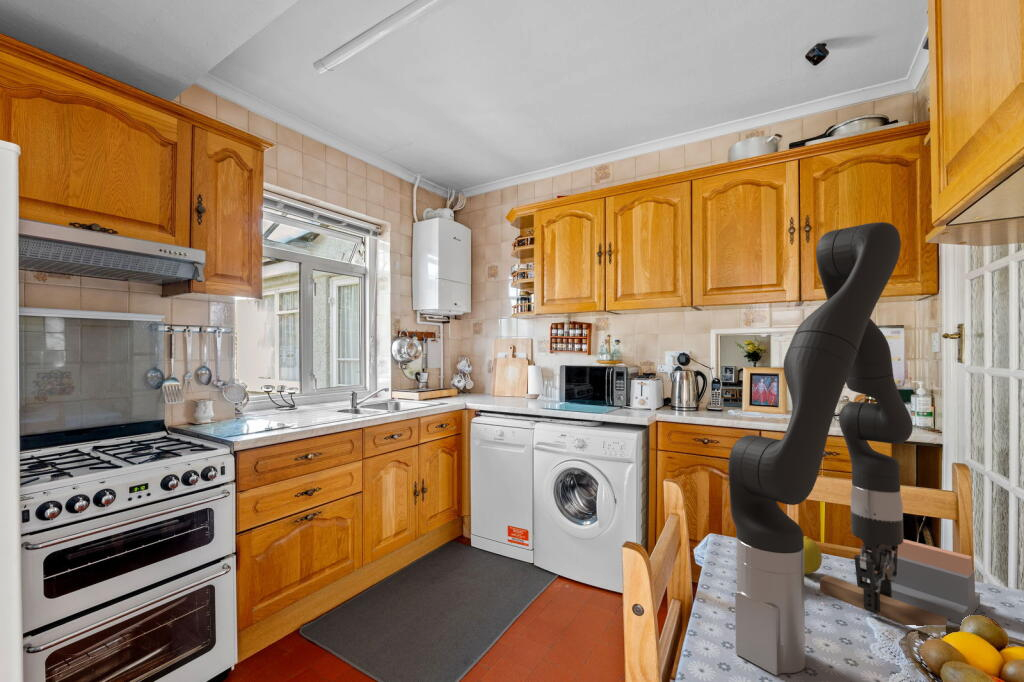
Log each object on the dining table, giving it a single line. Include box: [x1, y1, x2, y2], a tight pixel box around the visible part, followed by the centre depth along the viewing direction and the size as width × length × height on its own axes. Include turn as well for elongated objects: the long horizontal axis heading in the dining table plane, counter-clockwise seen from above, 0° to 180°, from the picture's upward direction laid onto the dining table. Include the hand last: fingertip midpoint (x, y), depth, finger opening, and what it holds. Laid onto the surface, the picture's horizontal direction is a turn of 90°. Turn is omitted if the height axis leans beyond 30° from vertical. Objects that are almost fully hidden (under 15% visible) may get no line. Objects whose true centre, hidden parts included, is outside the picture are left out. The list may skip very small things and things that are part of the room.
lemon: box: [803, 535, 823, 576], centre depth 99 cm, size 6×6×8 cm
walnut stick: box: [819, 574, 948, 626], centre depth 84 cm, size 18×3×3 cm, turn 33°
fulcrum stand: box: [890, 538, 981, 625], centre depth 89 cm, size 12×12×10 cm
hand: (878, 605), depth 84 cm, fingers open, 5 cm apart
